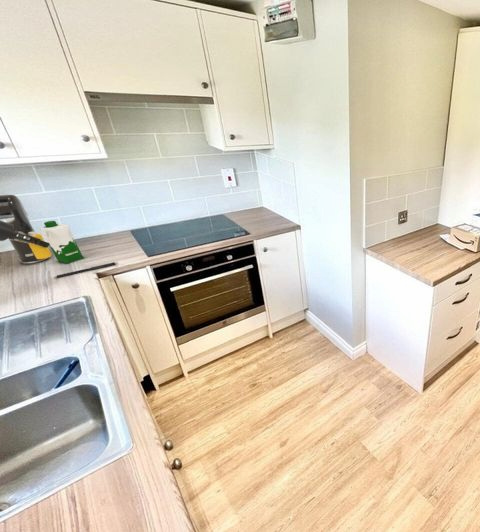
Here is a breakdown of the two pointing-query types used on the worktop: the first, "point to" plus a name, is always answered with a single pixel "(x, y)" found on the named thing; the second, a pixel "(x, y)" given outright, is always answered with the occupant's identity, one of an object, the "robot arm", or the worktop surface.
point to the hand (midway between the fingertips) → (43, 244)
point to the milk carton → (61, 242)
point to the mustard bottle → (39, 248)
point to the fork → (87, 269)
